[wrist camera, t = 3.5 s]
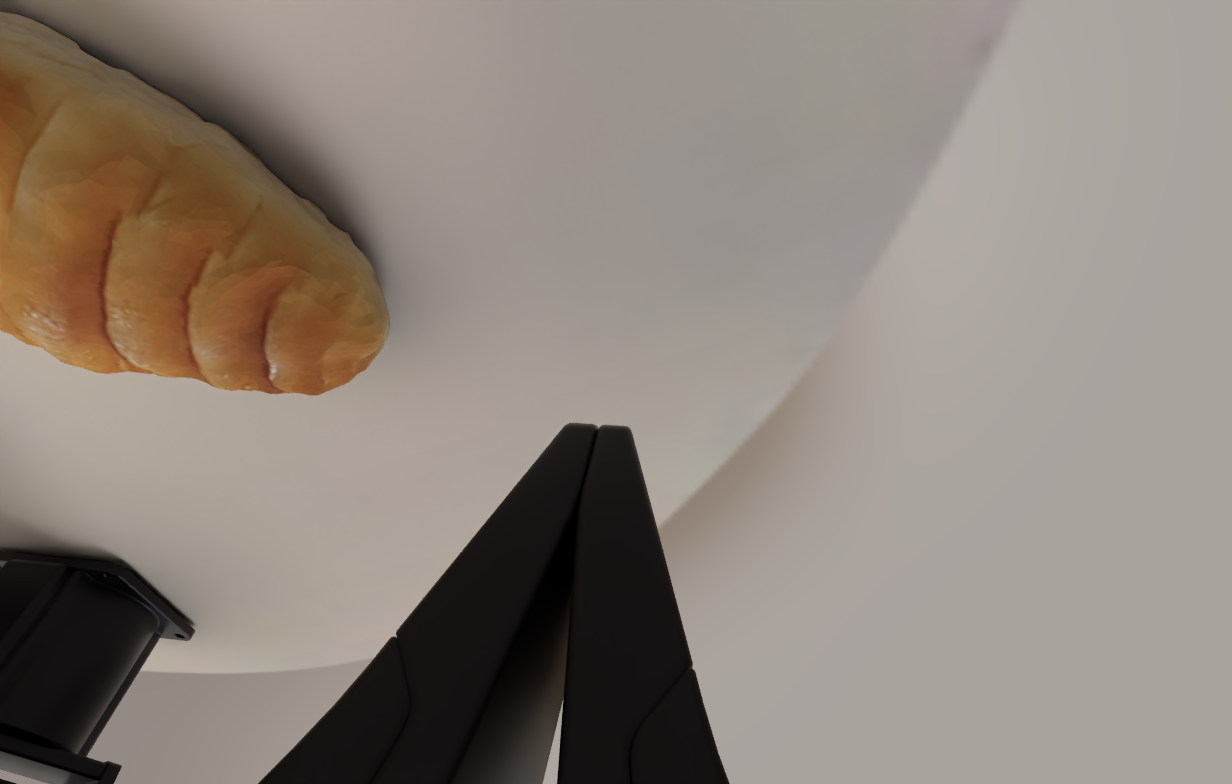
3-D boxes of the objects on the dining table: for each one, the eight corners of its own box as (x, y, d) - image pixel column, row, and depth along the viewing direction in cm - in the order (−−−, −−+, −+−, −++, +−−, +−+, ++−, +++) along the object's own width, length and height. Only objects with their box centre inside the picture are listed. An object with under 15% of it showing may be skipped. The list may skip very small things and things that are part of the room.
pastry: (440, 200, 14) (366, 324, 11) (374, 393, 18) (311, 511, 16) (-92, -62, 11) (-345, 15, 9) (-13, 234, 16) (-162, 342, 13)
